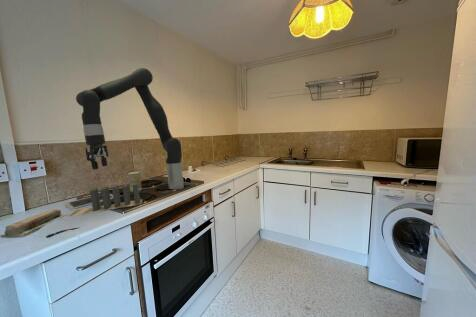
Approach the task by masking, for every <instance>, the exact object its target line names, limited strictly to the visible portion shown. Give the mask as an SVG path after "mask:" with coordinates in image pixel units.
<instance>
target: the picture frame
mask: <svg viewBox="0 0 476 317" xmlns="http://www.w3.org/2000/svg"><path fill="white" fill-rule="evenodd" d="M98 193H99V192H98ZM109 195H110V201H111V200H114V198H113V193H111V192H110V191H109ZM99 199H100V203H103V198H102V192H100V193H99ZM64 206H65V208H67V209H69V210H70V211H74V210H78V209H80V208H81V209H82V208H84V207H88V206H92V201H91V196H89V197H88V196H87V197H85V198H84V197H83V198H80V199H75V200H70V201H67V202H64Z"/></svg>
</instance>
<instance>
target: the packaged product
mask: <svg viewBox="0 0 476 317" xmlns="http://www.w3.org/2000/svg"><path fill="white" fill-rule="evenodd" d="M67 215H68V216H69V213H65V214H62V211H61V209H57V208H54V209H51V210H46V211H44V212H41V213H39V214H36V215H33V216H30V217H28V218H25V219H22V220H20V221H16V222H15V223H14V222H13V223H12V224H9V225H7V226H5V230H4V233H3V234H0V238H25V237H26V236H28V235H29V236H30V235H31V234H33V233H35V232H38V231H39V230H41V229H42V228H44V227H45V226H46V225H48V224H51V223H52V222H54V221H57V220H59V219H61V218H64V217H65V216H67Z"/></svg>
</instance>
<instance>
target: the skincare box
mask: <svg viewBox="0 0 476 317" xmlns="http://www.w3.org/2000/svg"><path fill="white" fill-rule="evenodd" d="M127 174H128V182H129V183H128V186H129V193H132V192H133V184H134V183H138V189H139V192H141V191H142V189H143V188H142V180H141V178H142V177H141V171H134V172H129V173H127ZM133 193H134V192H133Z"/></svg>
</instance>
